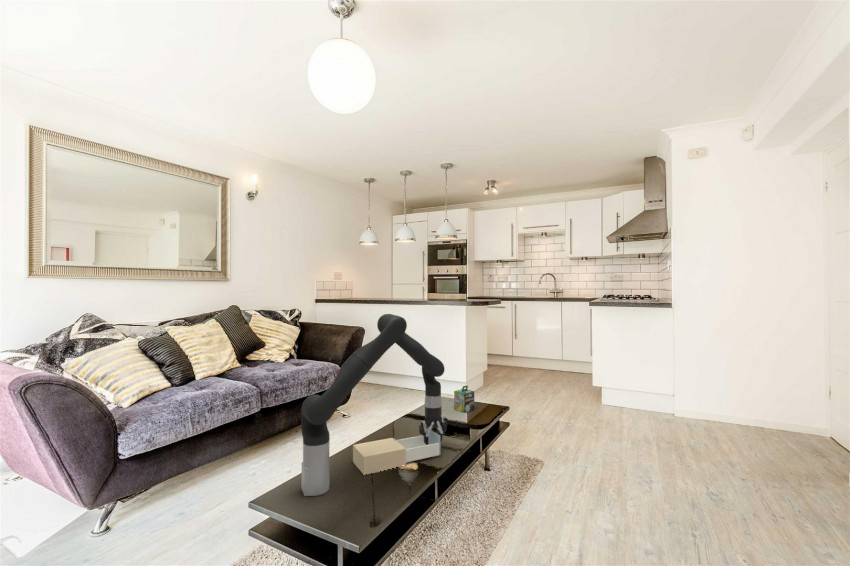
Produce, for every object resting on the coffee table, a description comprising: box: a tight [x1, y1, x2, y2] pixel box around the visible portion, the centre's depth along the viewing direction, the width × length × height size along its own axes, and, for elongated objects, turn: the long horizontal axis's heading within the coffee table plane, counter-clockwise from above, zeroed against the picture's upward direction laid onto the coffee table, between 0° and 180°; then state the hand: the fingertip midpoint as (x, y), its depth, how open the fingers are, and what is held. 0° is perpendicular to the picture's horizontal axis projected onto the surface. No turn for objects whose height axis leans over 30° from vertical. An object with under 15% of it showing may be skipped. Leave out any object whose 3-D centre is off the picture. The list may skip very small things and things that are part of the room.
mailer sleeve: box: [352, 437, 407, 476], centre depth 163 cm, size 18×14×7 cm
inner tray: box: [395, 429, 442, 463], centre depth 169 cm, size 25×12×8 cm, turn 118°
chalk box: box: [453, 384, 475, 413], centre depth 240 cm, size 9×9×15 cm
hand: (433, 442), depth 175 cm, fingers open, 6 cm apart
